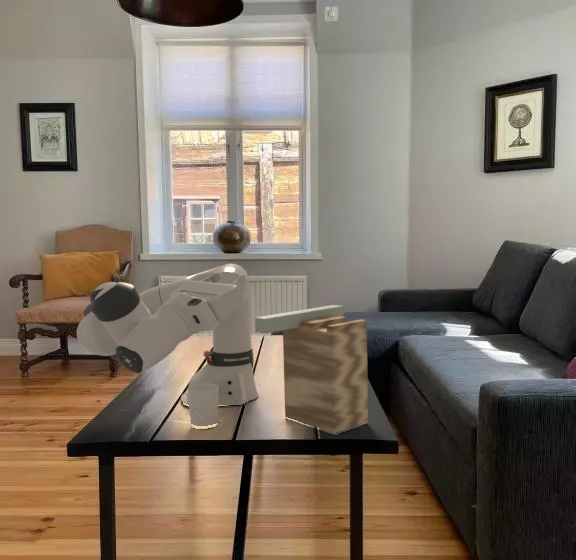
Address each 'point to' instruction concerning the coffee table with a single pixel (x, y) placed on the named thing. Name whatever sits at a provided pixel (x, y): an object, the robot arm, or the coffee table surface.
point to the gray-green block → (294, 318)
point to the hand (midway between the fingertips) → (230, 276)
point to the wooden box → (326, 373)
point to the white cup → (203, 403)
